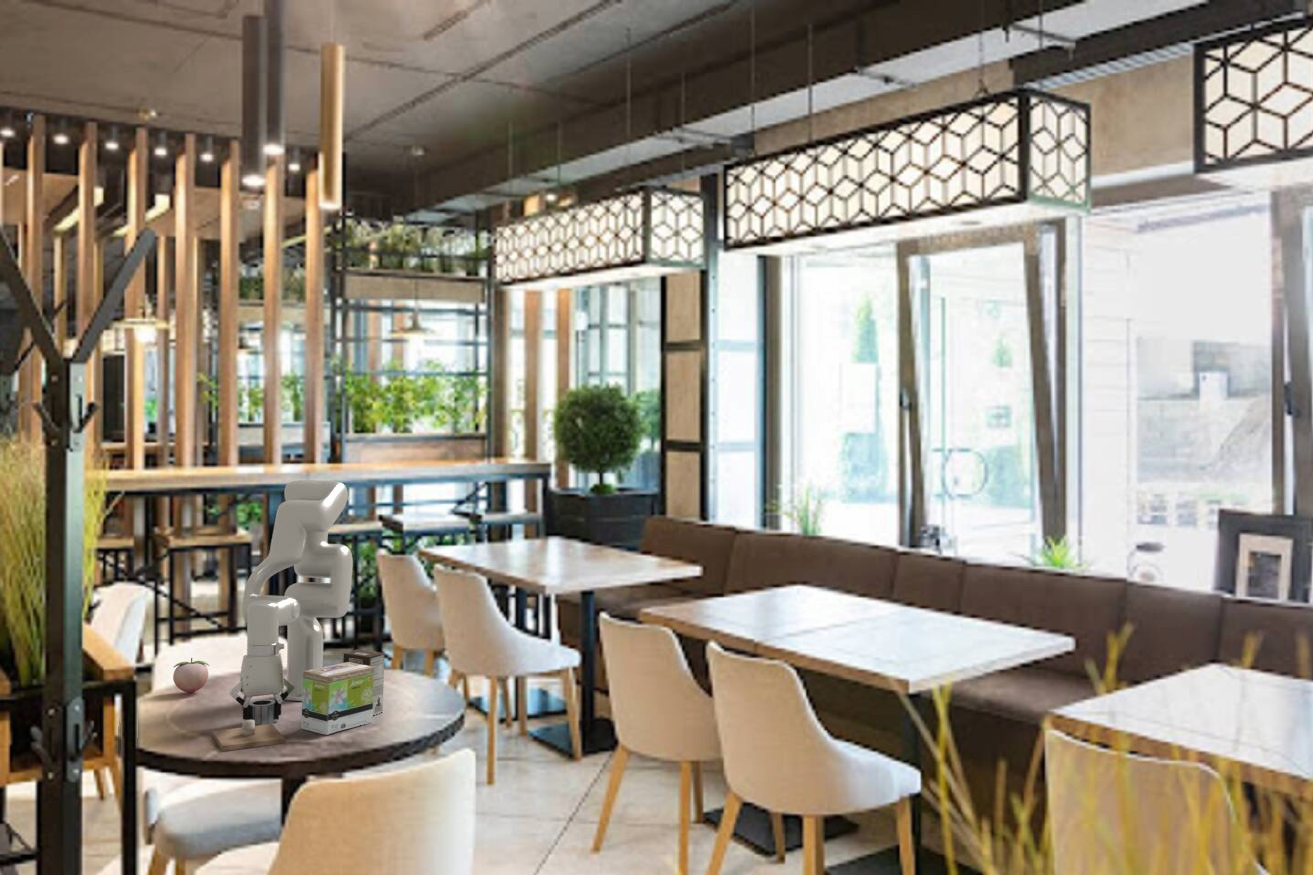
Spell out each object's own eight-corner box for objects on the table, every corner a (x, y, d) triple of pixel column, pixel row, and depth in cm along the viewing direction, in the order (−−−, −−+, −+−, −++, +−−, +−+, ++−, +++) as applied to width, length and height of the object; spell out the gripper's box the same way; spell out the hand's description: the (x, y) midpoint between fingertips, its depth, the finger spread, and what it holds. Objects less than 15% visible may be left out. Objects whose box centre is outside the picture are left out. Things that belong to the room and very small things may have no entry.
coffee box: (340, 713, 292) (341, 652, 292) (357, 708, 298) (357, 648, 298) (368, 718, 288) (369, 656, 288) (384, 712, 294) (385, 652, 294)
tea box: (328, 736, 272) (329, 676, 271) (300, 729, 277) (301, 670, 277) (374, 722, 284) (375, 665, 284) (346, 716, 290) (347, 659, 289)
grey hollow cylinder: (272, 717, 287) (272, 698, 287) (277, 723, 282) (277, 703, 282) (246, 720, 284) (246, 701, 284) (251, 726, 278) (251, 706, 278)
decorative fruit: (178, 699, 303) (178, 662, 303) (169, 693, 310) (170, 657, 310) (213, 694, 309) (214, 658, 309) (204, 688, 316) (204, 653, 315)
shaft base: (271, 728, 277) (272, 710, 277) (284, 743, 265) (285, 724, 265) (212, 735, 270) (212, 717, 270) (222, 751, 258) (223, 732, 258)
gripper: (294, 644, 290) (293, 712, 290) (224, 650, 281) (223, 720, 281) (301, 649, 284) (300, 719, 284) (229, 655, 275) (228, 728, 275)
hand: (261, 719), depth 283 cm, fingers closed on grey hollow cylinder, 6 cm apart
